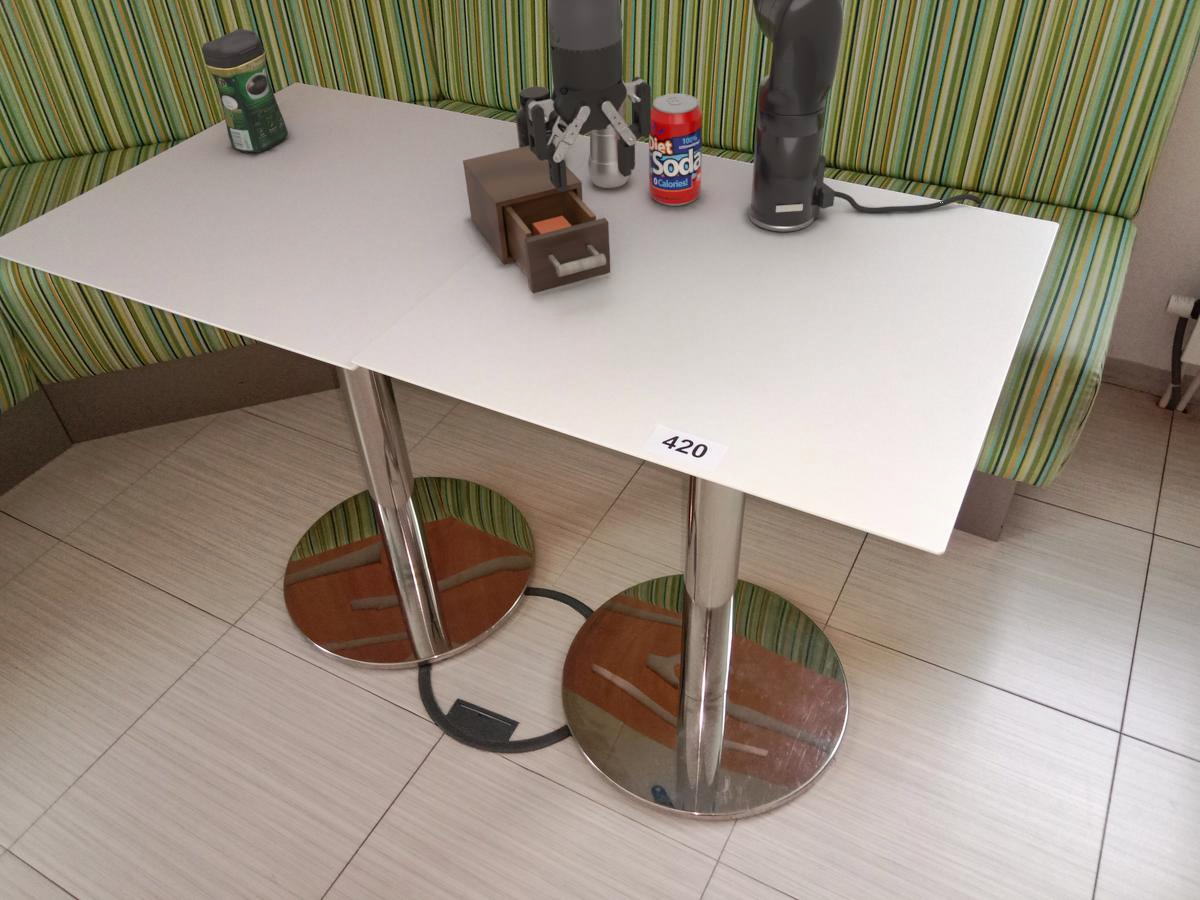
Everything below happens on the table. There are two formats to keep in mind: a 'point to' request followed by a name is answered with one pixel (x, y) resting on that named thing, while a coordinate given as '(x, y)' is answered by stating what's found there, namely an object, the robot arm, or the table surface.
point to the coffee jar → (245, 91)
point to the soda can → (675, 149)
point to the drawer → (557, 241)
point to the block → (550, 225)
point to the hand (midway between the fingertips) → (593, 181)
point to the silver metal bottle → (606, 156)
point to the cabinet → (507, 190)
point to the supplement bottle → (521, 116)
